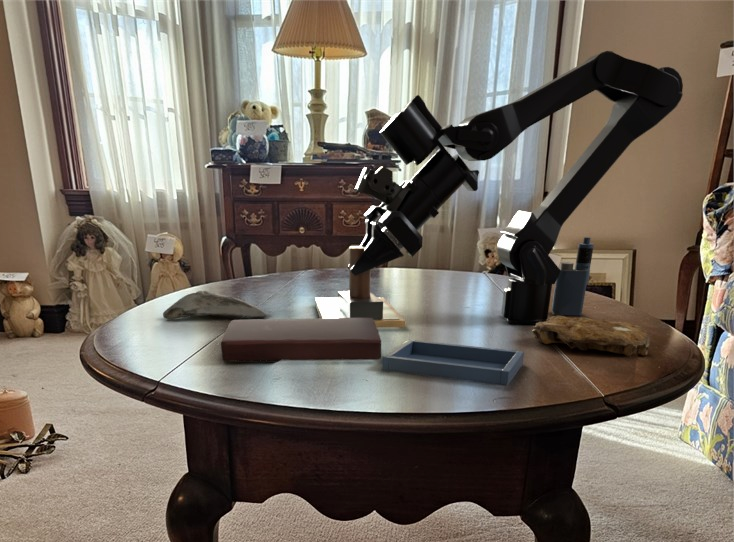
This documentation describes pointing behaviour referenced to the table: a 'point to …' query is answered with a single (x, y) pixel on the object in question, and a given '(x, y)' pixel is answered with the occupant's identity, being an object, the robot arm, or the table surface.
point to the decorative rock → (593, 334)
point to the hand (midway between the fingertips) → (351, 271)
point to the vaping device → (573, 282)
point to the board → (331, 310)
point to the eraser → (359, 293)
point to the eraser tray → (454, 361)
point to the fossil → (210, 306)
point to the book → (301, 340)
